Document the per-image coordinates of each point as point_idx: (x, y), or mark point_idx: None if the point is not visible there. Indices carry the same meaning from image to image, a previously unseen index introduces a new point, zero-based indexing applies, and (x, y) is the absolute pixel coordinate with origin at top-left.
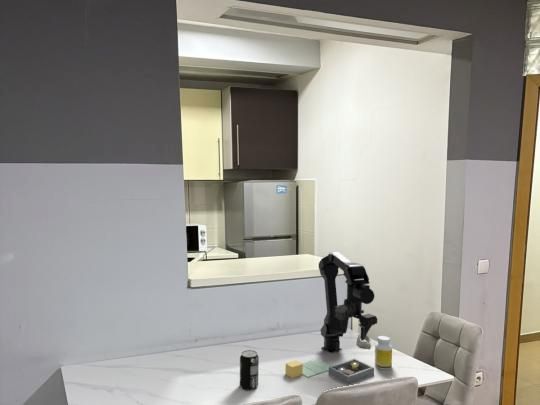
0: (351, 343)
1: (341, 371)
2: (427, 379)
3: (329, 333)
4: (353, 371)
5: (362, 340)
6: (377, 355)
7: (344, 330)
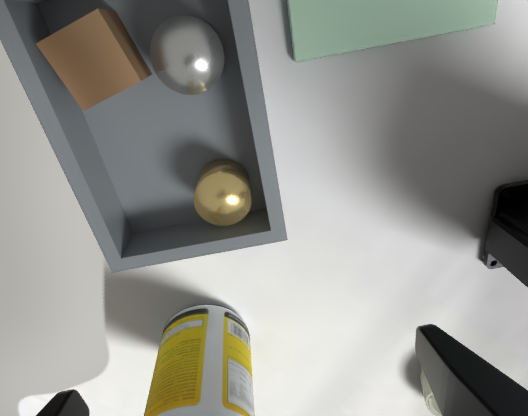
0: (506, 345)
1: (158, 29)
2: (29, 409)
3: None
4: (200, 158)
5: (62, 397)
6: (193, 362)
7: (440, 368)
